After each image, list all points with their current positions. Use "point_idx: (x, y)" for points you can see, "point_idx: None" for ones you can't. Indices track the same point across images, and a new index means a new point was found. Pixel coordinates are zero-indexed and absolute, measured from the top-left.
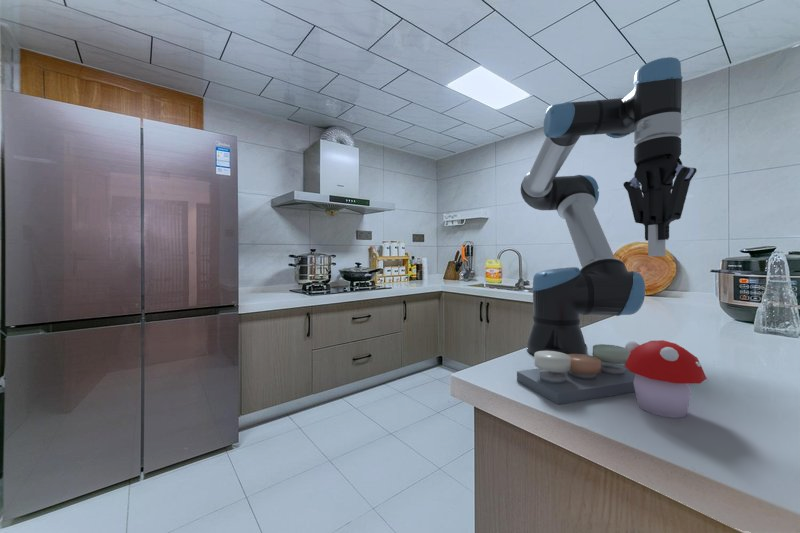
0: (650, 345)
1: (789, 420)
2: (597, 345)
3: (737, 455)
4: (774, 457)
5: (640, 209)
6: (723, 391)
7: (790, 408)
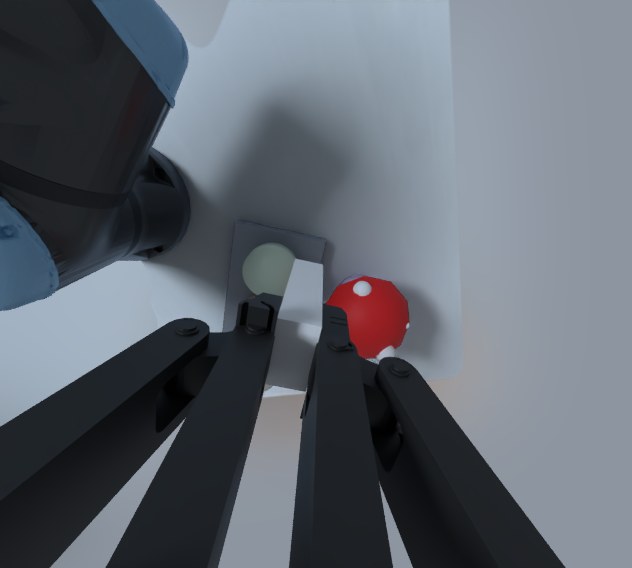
0: (361, 351)
1: (454, 208)
2: (246, 273)
3: (431, 336)
4: (450, 315)
5: (144, 438)
6: (384, 161)
7: (452, 157)
